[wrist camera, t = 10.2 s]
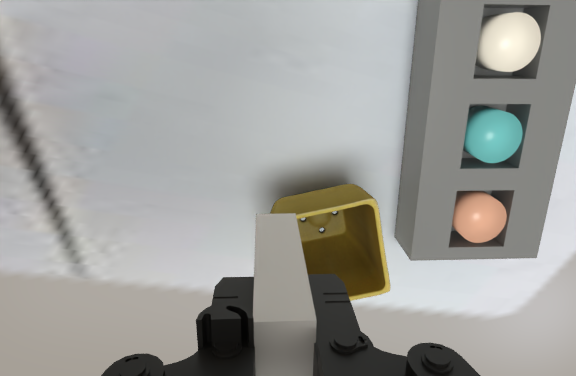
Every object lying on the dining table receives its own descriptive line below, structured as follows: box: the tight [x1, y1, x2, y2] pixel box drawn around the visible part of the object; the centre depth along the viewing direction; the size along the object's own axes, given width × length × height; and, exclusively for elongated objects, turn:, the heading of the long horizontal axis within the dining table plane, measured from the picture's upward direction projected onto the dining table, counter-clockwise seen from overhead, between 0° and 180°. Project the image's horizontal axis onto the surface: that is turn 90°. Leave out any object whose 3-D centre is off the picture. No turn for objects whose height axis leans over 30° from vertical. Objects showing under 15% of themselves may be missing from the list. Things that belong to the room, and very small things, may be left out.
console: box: [395, 0, 576, 260], centre depth 38 cm, size 12×23×5 cm, turn 179°
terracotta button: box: [452, 191, 507, 243], centre depth 40 cm, size 4×4×3 cm
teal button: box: [463, 106, 523, 163], centre depth 37 cm, size 4×4×3 cm
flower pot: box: [270, 184, 390, 301], centre depth 38 cm, size 9×9×9 cm
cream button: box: [475, 12, 541, 72], centre depth 35 cm, size 4×4×3 cm
